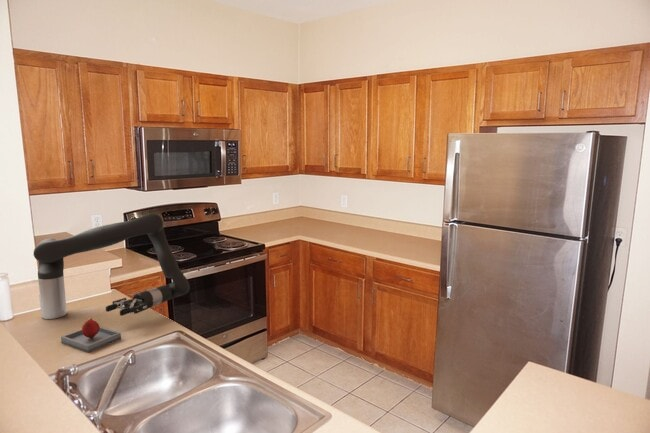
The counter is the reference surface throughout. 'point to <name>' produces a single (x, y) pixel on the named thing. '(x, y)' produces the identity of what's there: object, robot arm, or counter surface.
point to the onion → (90, 328)
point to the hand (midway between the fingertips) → (113, 311)
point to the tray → (90, 339)
